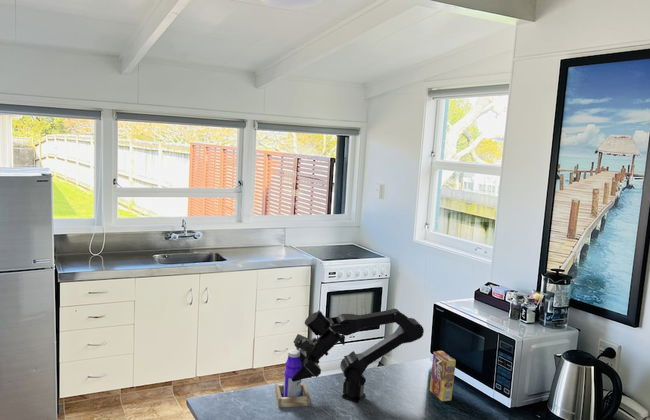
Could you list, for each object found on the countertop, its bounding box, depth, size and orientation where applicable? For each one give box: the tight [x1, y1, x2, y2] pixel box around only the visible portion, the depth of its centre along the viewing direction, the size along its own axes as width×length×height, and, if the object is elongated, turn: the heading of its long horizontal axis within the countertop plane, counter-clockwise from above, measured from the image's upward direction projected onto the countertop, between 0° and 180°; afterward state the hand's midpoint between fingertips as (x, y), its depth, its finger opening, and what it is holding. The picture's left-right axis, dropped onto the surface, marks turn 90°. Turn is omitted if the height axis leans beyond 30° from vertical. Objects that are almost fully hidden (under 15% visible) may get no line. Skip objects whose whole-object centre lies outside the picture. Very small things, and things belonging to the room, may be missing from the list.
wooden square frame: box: [274, 382, 311, 408], centre depth 192 cm, size 11×11×3 cm
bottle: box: [283, 349, 302, 397], centre depth 191 cm, size 7×6×17 cm
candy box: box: [429, 350, 457, 402], centre depth 200 cm, size 9×4×15 cm, turn 20°
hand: (290, 374), depth 191 cm, fingers open, 9 cm apart
